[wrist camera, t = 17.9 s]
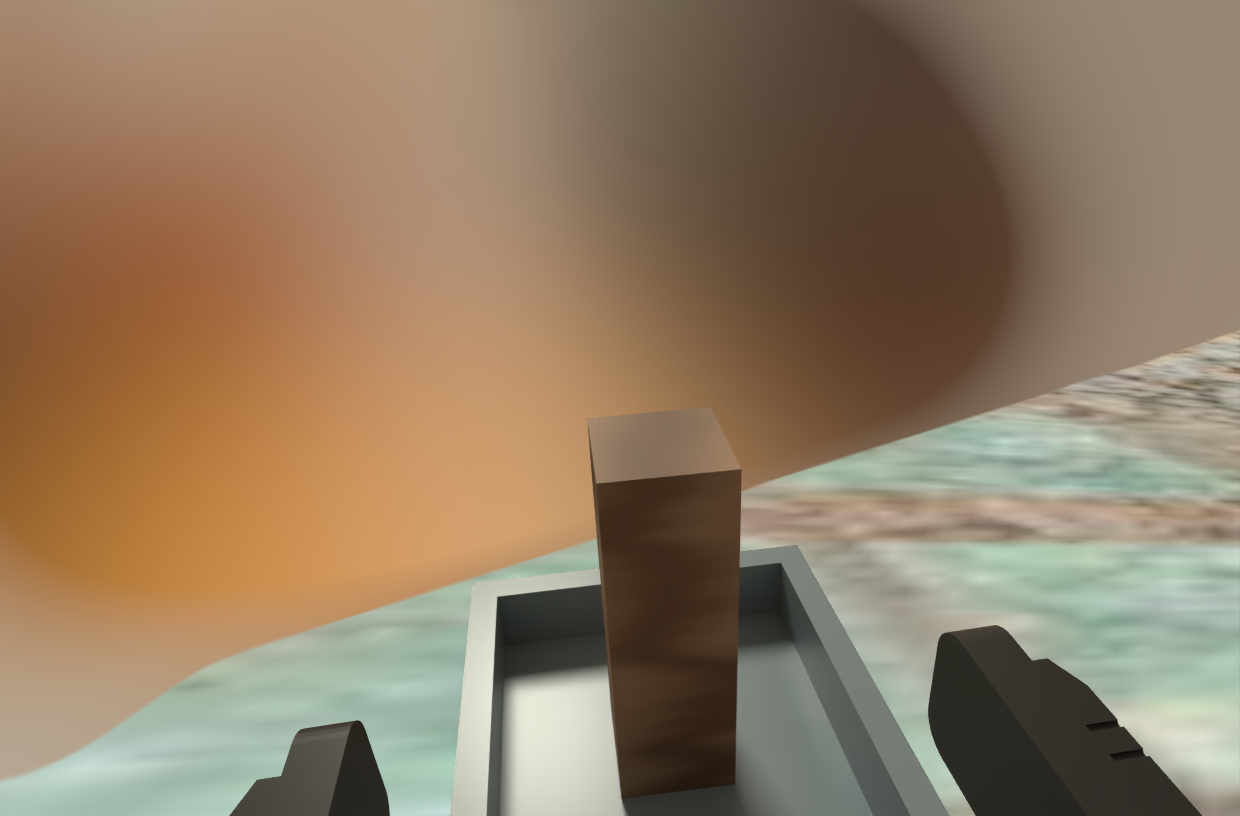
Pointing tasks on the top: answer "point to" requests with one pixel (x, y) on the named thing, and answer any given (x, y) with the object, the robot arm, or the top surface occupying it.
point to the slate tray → (766, 708)
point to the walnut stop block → (669, 595)
